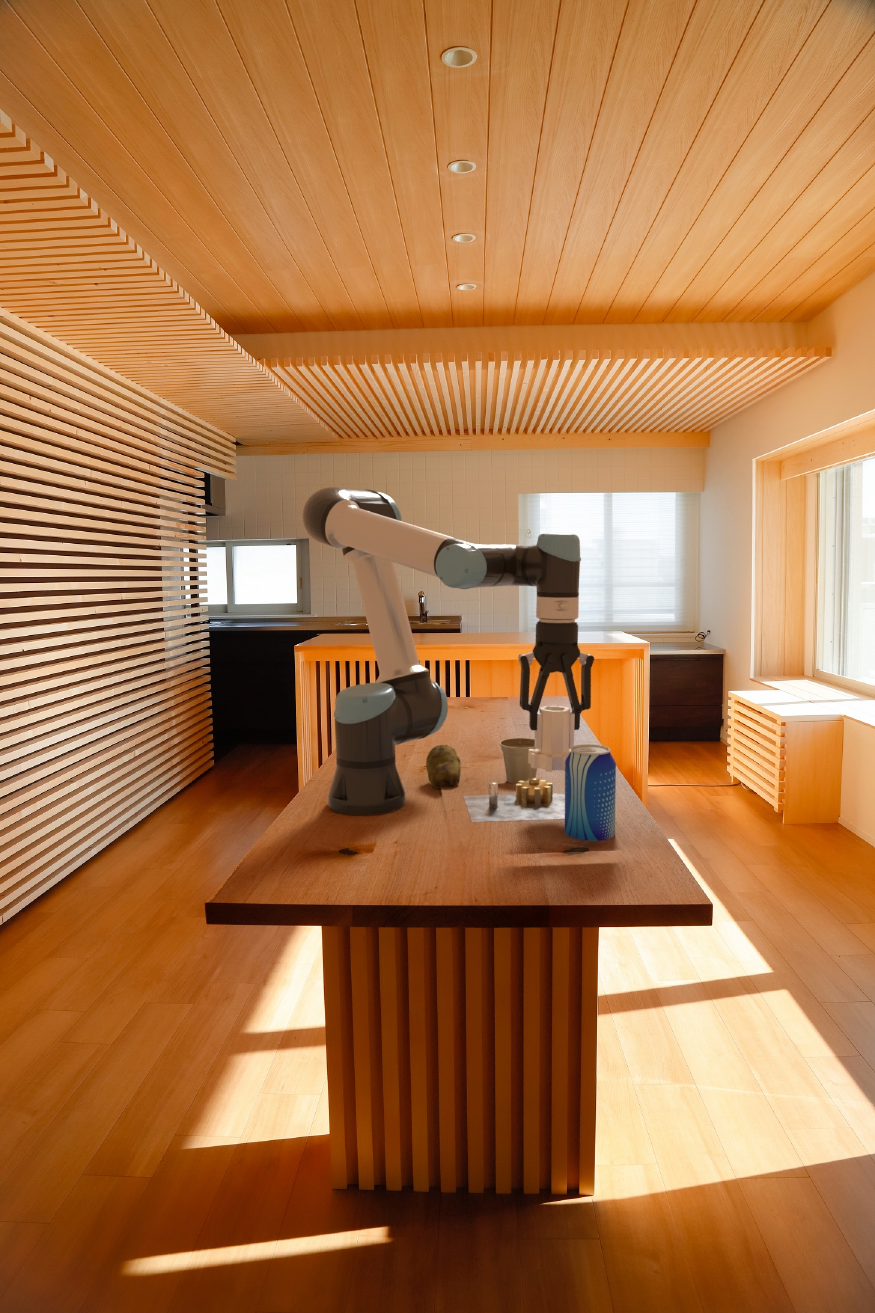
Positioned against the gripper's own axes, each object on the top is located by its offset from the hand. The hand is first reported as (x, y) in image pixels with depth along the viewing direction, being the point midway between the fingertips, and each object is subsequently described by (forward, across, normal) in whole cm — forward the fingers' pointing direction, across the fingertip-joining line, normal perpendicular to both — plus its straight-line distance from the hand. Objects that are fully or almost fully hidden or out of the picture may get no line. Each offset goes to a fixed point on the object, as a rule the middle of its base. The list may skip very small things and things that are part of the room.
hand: (553, 747), depth 147 cm
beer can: (+14, +4, -12) cm, 19 cm away
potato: (+15, -18, +25) cm, 34 cm away
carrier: (+14, -4, +3) cm, 15 cm away
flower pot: (+14, -1, +26) cm, 30 cm away
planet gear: (+3, 0, 0) cm, 3 cm away
